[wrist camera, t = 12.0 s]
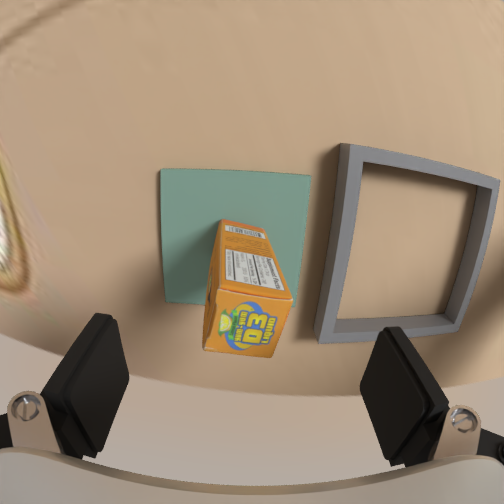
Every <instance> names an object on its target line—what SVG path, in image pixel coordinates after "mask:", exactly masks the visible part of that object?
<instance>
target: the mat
mask: <svg viewBox="0 0 504 504" xmlns="http://www.w3.org/2000/svg"><path fill="white" fill-rule="evenodd" d="M310 183H311V176H310V175H301V174H289V173H275V172H260V171H242V170H218V169H161V235H162V258H163V275H164V289H165V302H171V303H187V304H205V301H206V291H207V283H208V275H209V268H210V261H211V256H212V252H213V247H214V242H215V238H216V234H217V230H218V225H219V222H220V220H221V219H226V220H230V221H234V222H239V223H243V224H247V225H251V226H255V227H259V228H263V229H264V230H265V232H266V234H267V237H268V239H269V242H270V244H271V246H272V249H273V251H274V253H275V256H276V259H277V261H278V264H279V266H280V268H281V271H282V274H283V276H284V278H285V281H286V283H287V286H288V288H289V290H290V293H291V295H292V298H293V303H292V306H291V307H295V304H296V297H297V290H298V283H299V276H300V268H301V261H302V253H303V245H304V237H305V229H306V221H307V212H308V203H309V193H310Z"/></svg>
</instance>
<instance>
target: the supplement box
mask: <svg viewBox="0 0 504 504" xmlns="http://www.w3.org/2000/svg"><path fill="white" fill-rule="evenodd" d="M292 303H293V298H292V295H291V293H290V290H289V288H288V286H287V283H286V281H285V278H284V276H283V274H282V271H281V268H280V266H279V264H278V261H277V259H276V256H275V253H274V251H273V249H272V246H271V244H270V242H269V239H268V237H267V234H266V232H265V230H264V229H263V228H259V227H255V226H251V225H247V224H243V223H239V222H234V221H230V220H226V219H221V220H220V222H219V225H218V230H217V234H216V238H215V242H214V247H213V252H212V256H211V261H210V268H209V275H208V283H207V291H206V301H205V313H204V325H203V340H202V348H203V350H204V351H210V352H222V353H230V354H237V355H245V356H253V357H265V358H271V357H272V356H273V353H274V351H275V348H276V346H277V343H278V340H279V338H280V335H281V333H282V330H283V327H284V325H285V322H286V319H287V317H288V314H289V311H290V308H291V306H292Z"/></svg>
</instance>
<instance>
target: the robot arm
mask: <svg viewBox="0 0 504 504" xmlns="http://www.w3.org/2000/svg"><path fill="white" fill-rule="evenodd" d="M128 382H129V372H128V368H127V364H126V360H125V356H124V352H123V347H122V343H121V339H120V334H119V329H118V324H117V321H116V320H115V319H113V317H112V316H111V315H109V314H101V313H95V314H94V316H93V317H92V318H91V320H90V321H89V322H88V324H87V325H86V326H85V328H84V329H83V331H82V332H81V333H80V335H79V336H78V338H77V339H76V340H75V342H74V343H73V345H72V346H71V348H70V349H69V351H68V352H67V353H66V355H65V356H64V358H63V360H62V361H61V362H60V364H59V365H58V367H57V368H56V370H55V372H54V373H53V374H52V376H51V378H50V379H49V381H48V382H47V384H46V385H45V387H44V389H43V390H42V392H41V393H40V395H39V394H38V393H36V392H32V391H24V392H21V393H19V394H17V395H15V396H14V397H13V398H12V399H11V400H10V402H9V404H8V407H7V413H6V414H3V415H0V504H504V437H502V436H500V435H497V434H495V433H492V432H490V431H487V430H484V429H482V428H481V420H480V417H479V415H478V414H477V413H476V412H475V411H474V410H473V409H472V408H470V407H467V406H464V405H456V406H454V407H452V408H451V409H450V408H449V406H448V404H449V401H448V399H447V398H446V396H445V394H444V393H443V391H442V389H441V388H440V386H439V385H438V383H437V381H436V380H435V378H434V377H433V375H432V373H431V372H430V370H429V369H428V367H427V366H426V364H425V363H424V361H423V360H422V358H421V356H420V355H419V353H418V352H417V350H416V349H415V347H414V346H413V344H412V343H411V342H410V340H409V339H408V337H407V336H406V334H405V333H404V331H403V330H402V328H401V327H399V326H395V327H385V328H384V329H383V331H380V332H379V334H378V336H377V339H376V342H375V345H374V348H373V351H372V354H371V356H370V359H369V362H368V364H367V367H366V370H365V372H364V375H363V377H362V380H361V383H360V392H361V395H362V397H363V400H364V403H365V405H366V408H367V410H368V413H369V416H370V419H371V421H372V424H373V427H374V430H375V433H376V435H377V438H378V441H379V444H380V447H381V449H382V453H383V455H384V458H385V459H386V460H389V462H390V465H391V466H395V465H400V464H404V465H405V467H406V468H402V469H397V470H393V471H389V472H384V473H379V474H375V475H369V476H364V477H358V478H352V479H346V480H338V481H332V482H322V483H313V484H299V485H281V486H233V485H216V484H204V483H193V482H185V481H177V480H170V479H164V478H157V477H152V476H146V475H142V474H136V473H132V472H128V471H123V470H119V469H115V468H110V467H106V466H103V465H99V464H95V463H91V462H88V461H85V460H82V458H83V455H86V456H89V457H92V458H96V455H97V453H98V452H101V451H102V450H103V448H104V445H105V442H106V439H107V436H108V434H109V431H110V428H111V426H112V423H113V420H114V418H115V415H116V413H117V410H118V408H119V405H120V402H121V400H122V397H123V395H124V392H125V390H126V387H127V385H128Z"/></svg>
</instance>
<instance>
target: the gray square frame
mask: <svg viewBox="0 0 504 504" xmlns="http://www.w3.org/2000/svg"><path fill="white" fill-rule="evenodd" d="M363 161H364V162H370V163H376V164H382V165H388V166H394V167H399V168H405V169H410V170H415V171H420V172H425V173H429V174H434V175H438V176H443V177H447V178H451V179H455V180H460V181H464V182H467V183H471V184H475V185H478V187H477V193H476V199H475V205H474V210H473V215H472V220H471V225H470V229H469V233H468V238H467V242H466V246H465V250H464V253H463V257H462V261H461V264H460V268H459V271H458V274H457V278H456V281H455V284H454V287H453V290H452V293H451V296H450V299H449V302H448V305H447V307H446V310H445V313H444V314H433V315H420V316H404V317H386V318H362V319H336V318H337V314H338V309H339V305H340V300H341V296H342V291H343V286H344V282H345V277H346V272H347V266H348V261H349V256H350V250H351V245H352V239H353V233H354V227H355V220H356V214H357V207H358V200H359V193H360V185H361V177H362V168H363ZM499 186H500V180H499V179H496V178H493V177H490V176H487V175H484V174H480V173H477V172H474V171H470V170H467V169H464V168H460V167H456V166H453V165H449V164H445V163H441V162H437V161H433V160H429V159H425V158H421V157H416V156H412V155H407V154H403V153H398V152H393V151H388V150H383V149H377V148H372V147H366V146H360V145H354V144H345V143H340V153H339V163H338V173H337V182H336V191H335V199H334V207H333V215H332V222H331V229H330V236H329V243H328V249H327V256H326V262H325V268H324V274H323V280H322V286H321V291H320V297H319V302H318V307H317V313H316V318H315V323H314V328H313V330H314V333H315V336H316V338H317V341H318V344H324V343H348V342H365V341H376V339H377V336H378V334H379V332H380V331H383V329H384V328H385V327H395V326H399V327H401V328H402V330H403V331H404V333H405V334H406V336H407V337H408V338H412V337H421V336H430V335H438V334H445V333H453V332H458V330H459V327H460V325H461V322H462V320H463V317H464V315H465V312H466V310H467V307H468V304H469V302H470V299H471V296H472V293H473V291H474V288H475V285H476V282H477V279H478V276H479V272H480V269H481V266H482V262H483V259H484V255H485V252H486V248H487V244H488V240H489V236H490V232H491V228H492V223H493V219H494V214H495V209H496V204H497V198H498V192H499Z"/></svg>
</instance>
